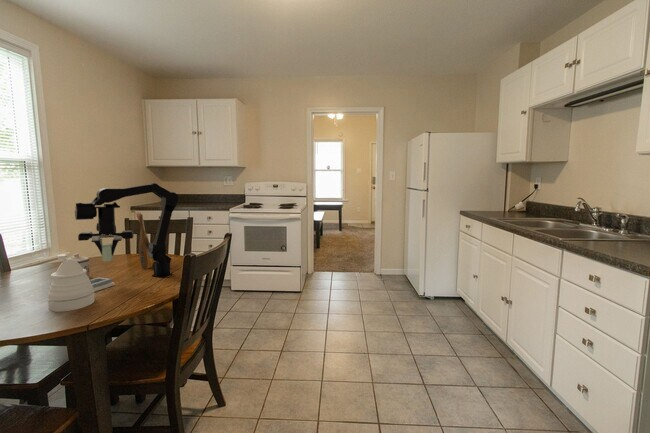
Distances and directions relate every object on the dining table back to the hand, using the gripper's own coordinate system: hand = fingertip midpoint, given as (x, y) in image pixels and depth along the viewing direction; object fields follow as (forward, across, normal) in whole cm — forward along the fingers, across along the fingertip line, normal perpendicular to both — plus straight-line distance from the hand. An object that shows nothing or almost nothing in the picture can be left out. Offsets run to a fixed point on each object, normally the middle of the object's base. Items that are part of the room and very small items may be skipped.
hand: (107, 255), depth 136 cm
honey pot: (+13, +9, +20) cm, 26 cm away
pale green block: (+2, 0, 0) cm, 2 cm away
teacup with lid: (+13, +13, -16) cm, 24 cm away
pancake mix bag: (+12, -13, -28) cm, 33 cm away
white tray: (+13, +6, +2) cm, 14 cm away
